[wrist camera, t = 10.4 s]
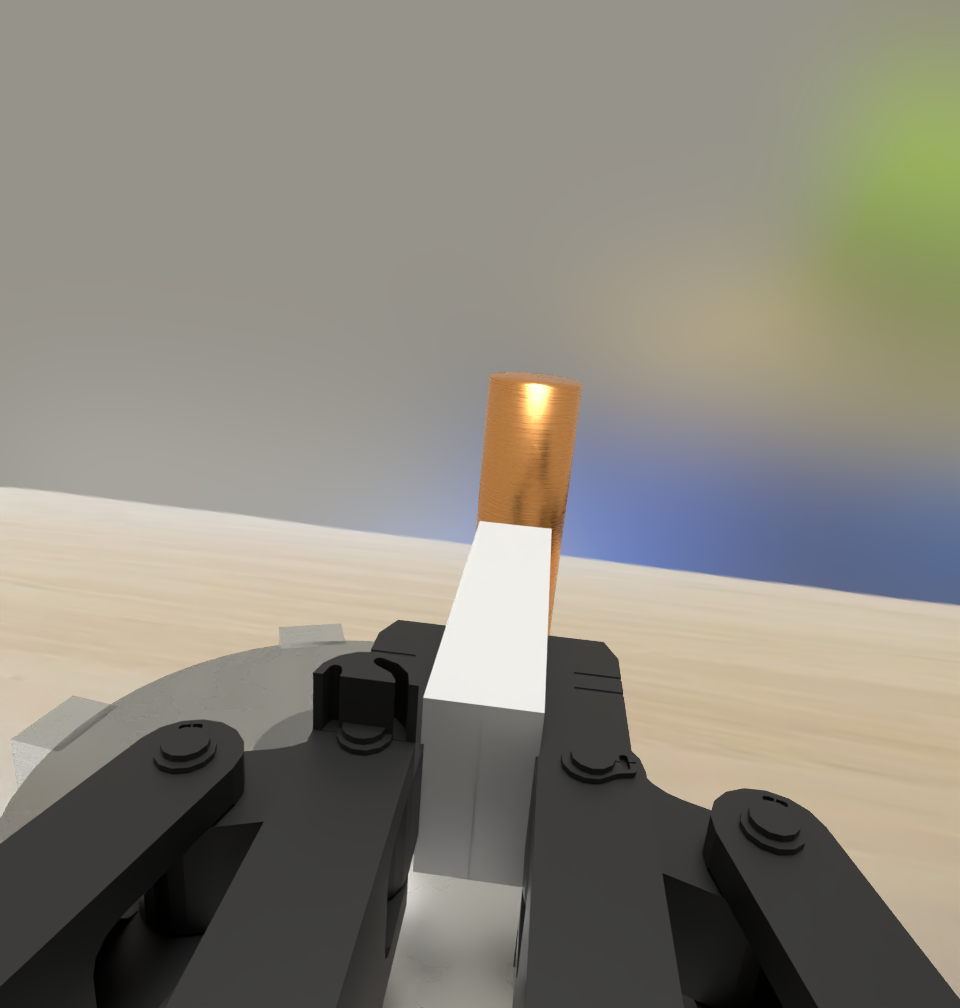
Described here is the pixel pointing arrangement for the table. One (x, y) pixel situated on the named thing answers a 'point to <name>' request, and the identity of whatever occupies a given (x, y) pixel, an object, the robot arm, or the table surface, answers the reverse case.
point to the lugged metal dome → (289, 712)
